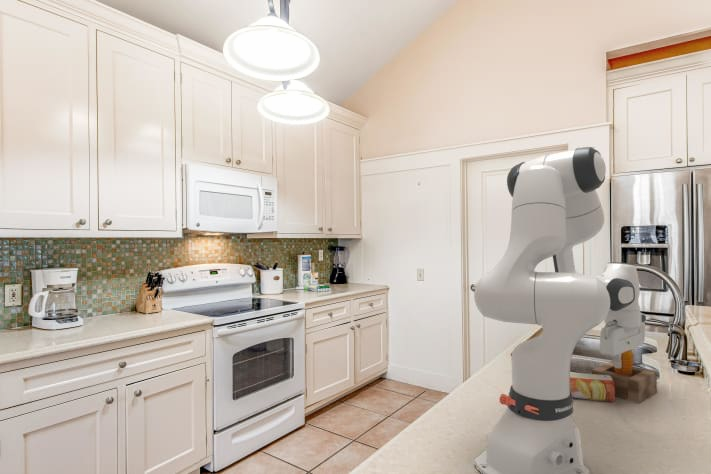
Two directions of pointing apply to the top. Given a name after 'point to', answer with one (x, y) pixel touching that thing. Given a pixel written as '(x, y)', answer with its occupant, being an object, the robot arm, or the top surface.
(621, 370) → the carrot
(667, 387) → the top surface
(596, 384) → the snack package
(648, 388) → the socket block
